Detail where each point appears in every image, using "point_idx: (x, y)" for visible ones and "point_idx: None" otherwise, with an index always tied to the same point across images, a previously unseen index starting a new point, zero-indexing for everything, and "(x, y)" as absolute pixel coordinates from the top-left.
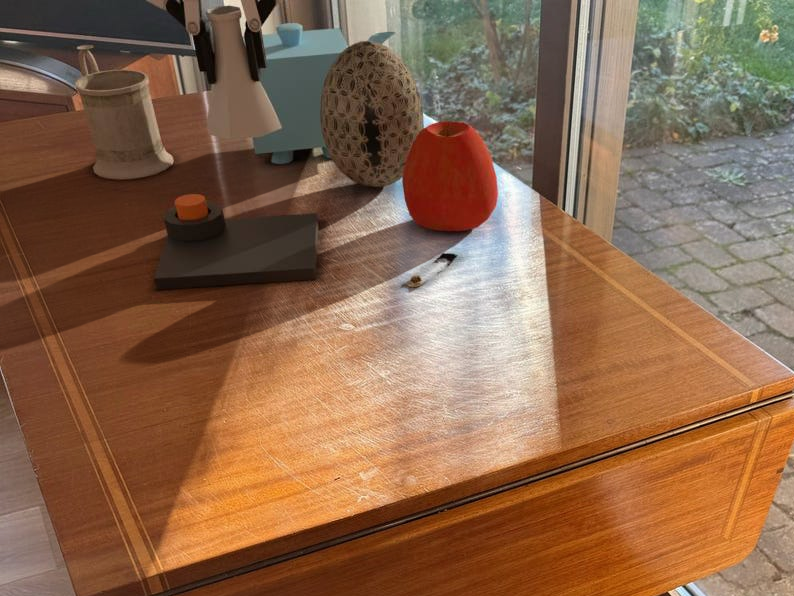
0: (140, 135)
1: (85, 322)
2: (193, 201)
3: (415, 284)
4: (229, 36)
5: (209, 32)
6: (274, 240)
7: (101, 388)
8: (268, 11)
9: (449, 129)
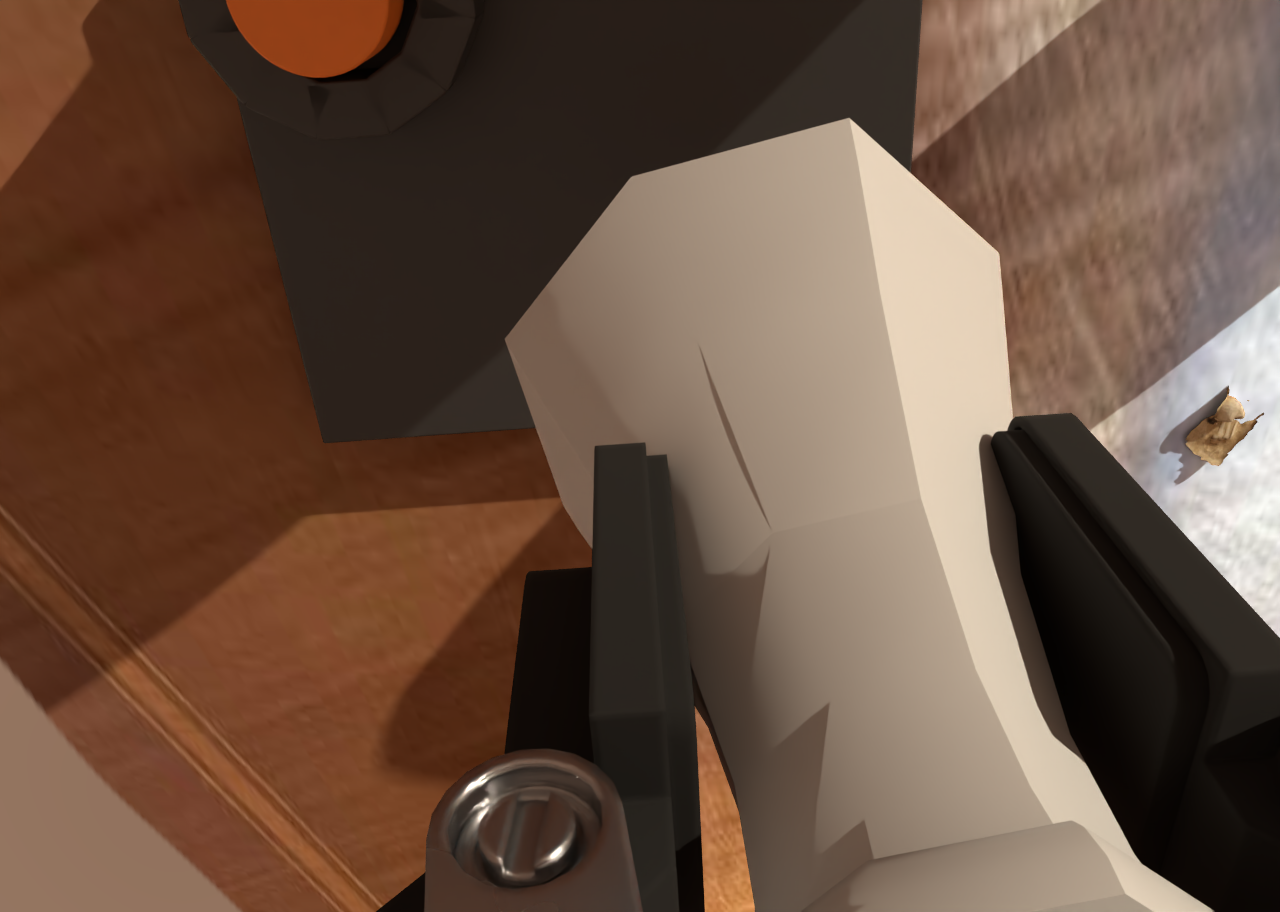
0: None
1: (187, 602)
2: (335, 23)
3: (1213, 441)
4: None
5: (699, 810)
6: (733, 141)
7: (381, 860)
8: None
9: None
